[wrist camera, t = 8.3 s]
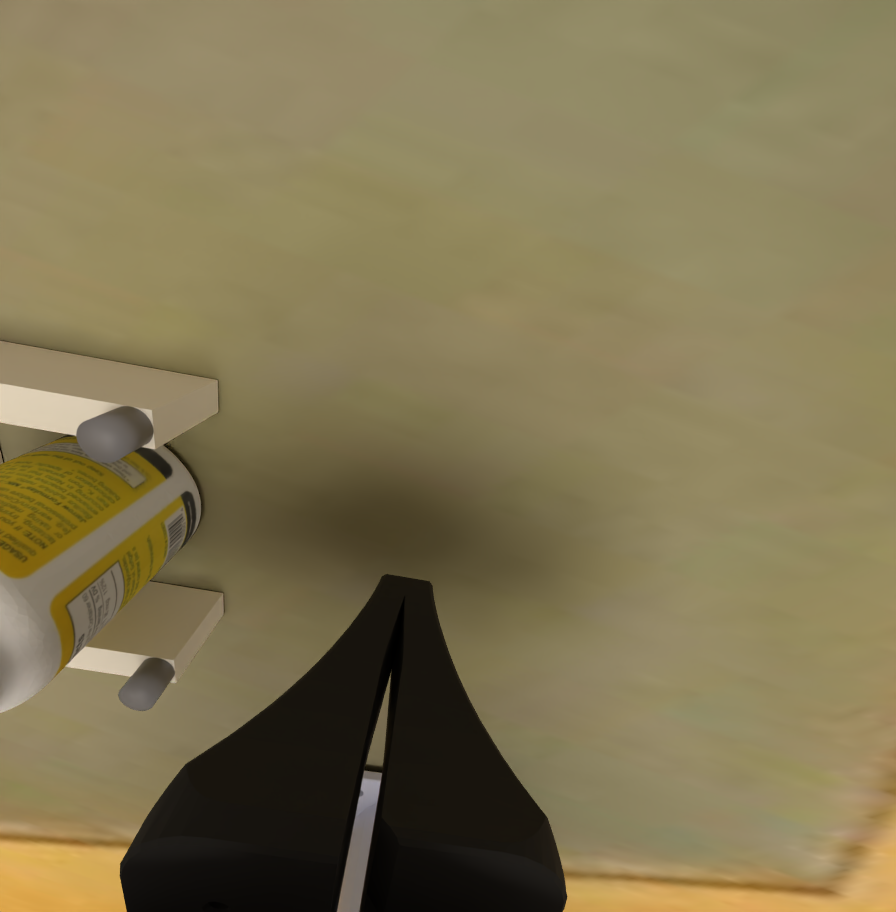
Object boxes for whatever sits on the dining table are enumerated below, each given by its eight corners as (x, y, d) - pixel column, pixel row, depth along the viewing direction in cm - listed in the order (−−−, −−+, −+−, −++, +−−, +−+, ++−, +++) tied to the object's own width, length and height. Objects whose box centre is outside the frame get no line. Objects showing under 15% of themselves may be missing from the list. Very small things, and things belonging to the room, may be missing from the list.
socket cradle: (224, 643, 17) (159, 746, 13) (12, 610, 17) (-115, 706, 13) (216, 328, 12) (112, 353, 9) (-78, 273, 12) (-314, 276, 8)
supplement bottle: (28, 444, 14) (-500, 661, 6) (157, 404, 13) (-259, 589, 6) (114, 564, 16) (-219, 848, 8) (231, 534, 15) (-9, 811, 7)
